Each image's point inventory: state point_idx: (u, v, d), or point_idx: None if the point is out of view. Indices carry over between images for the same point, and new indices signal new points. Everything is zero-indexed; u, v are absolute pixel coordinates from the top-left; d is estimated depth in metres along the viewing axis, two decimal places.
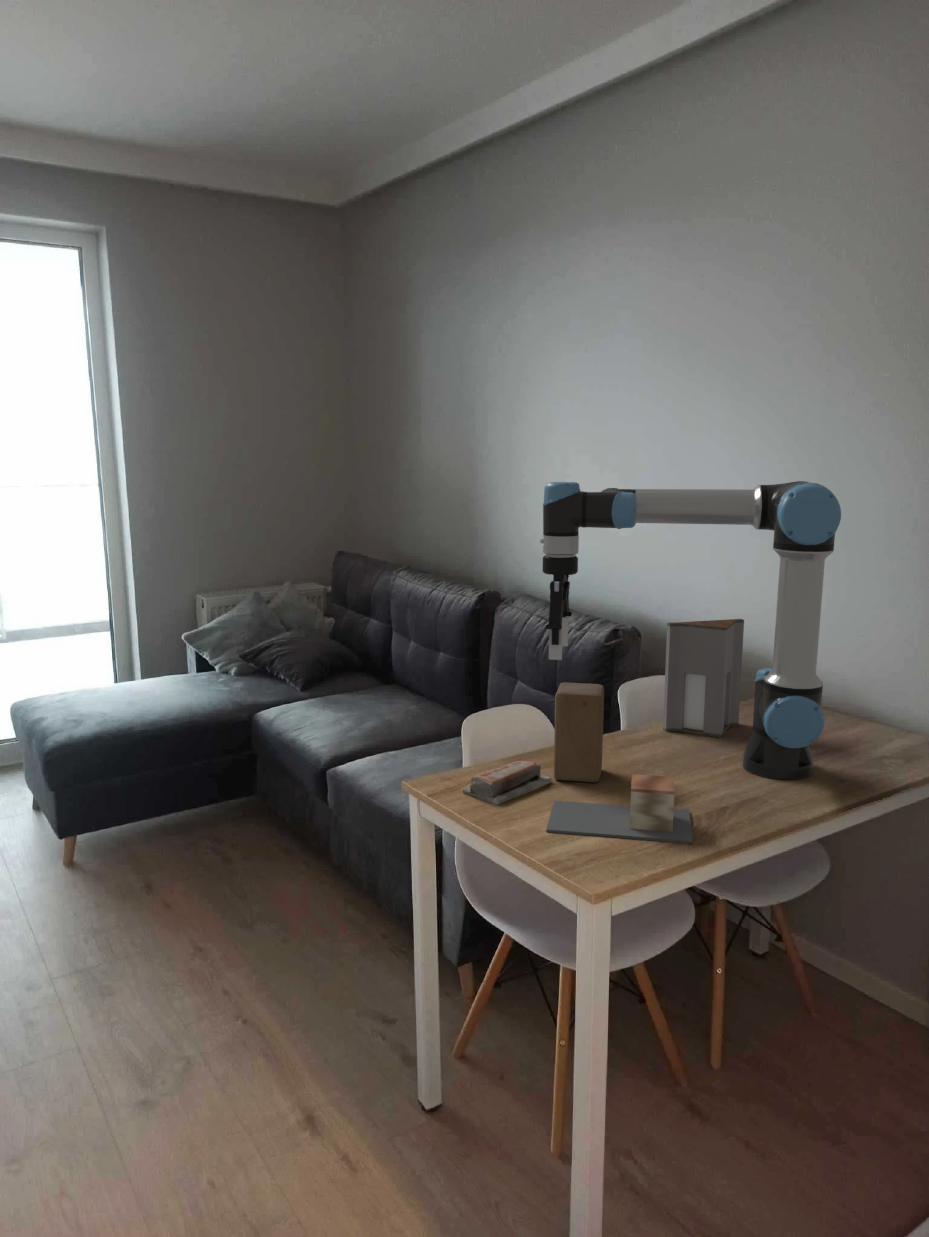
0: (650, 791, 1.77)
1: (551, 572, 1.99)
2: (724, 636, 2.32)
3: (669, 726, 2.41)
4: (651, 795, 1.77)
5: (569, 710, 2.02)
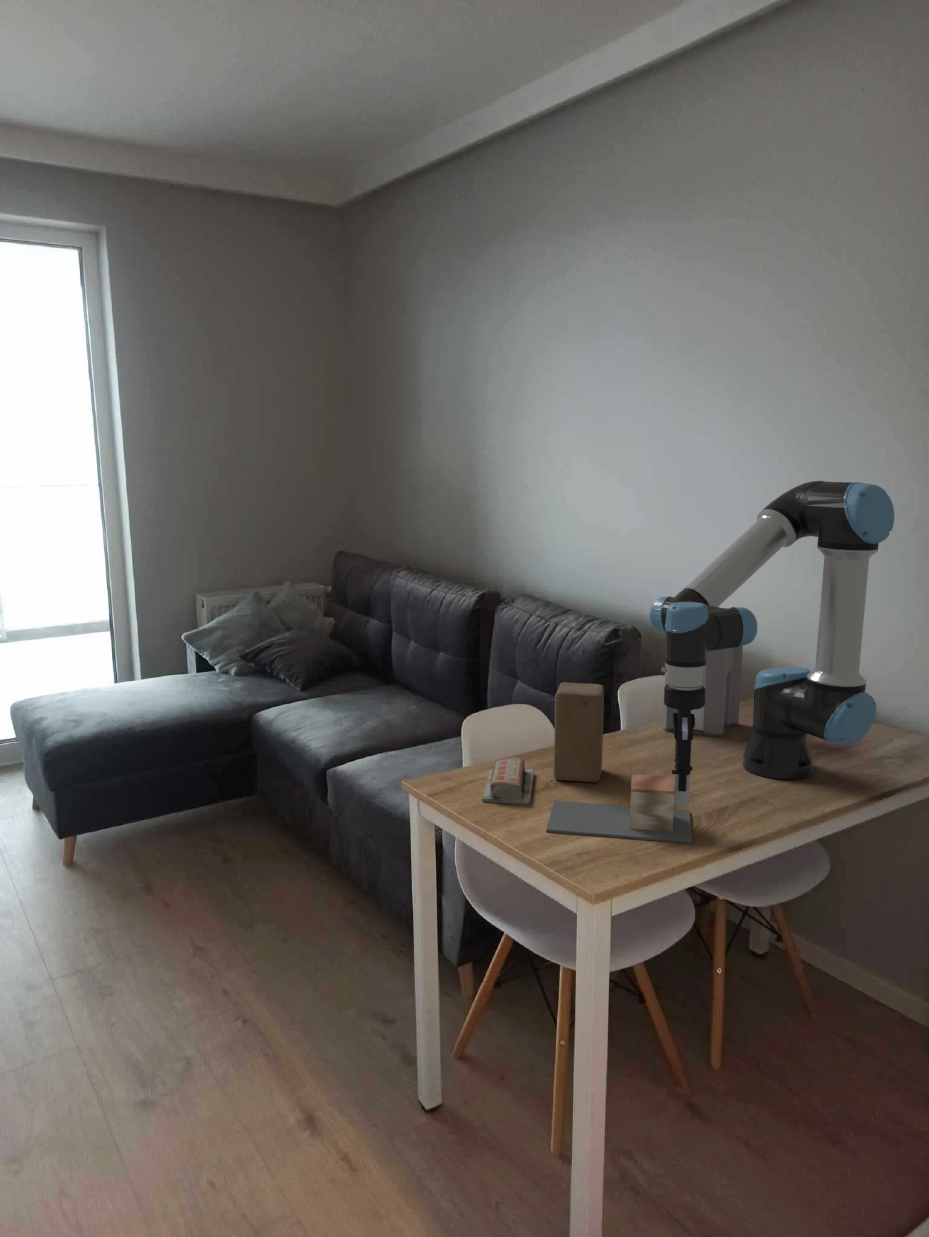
0: (650, 791, 1.77)
1: (676, 707, 1.74)
2: None
3: (669, 726, 2.41)
4: (651, 795, 1.77)
5: (569, 710, 2.02)
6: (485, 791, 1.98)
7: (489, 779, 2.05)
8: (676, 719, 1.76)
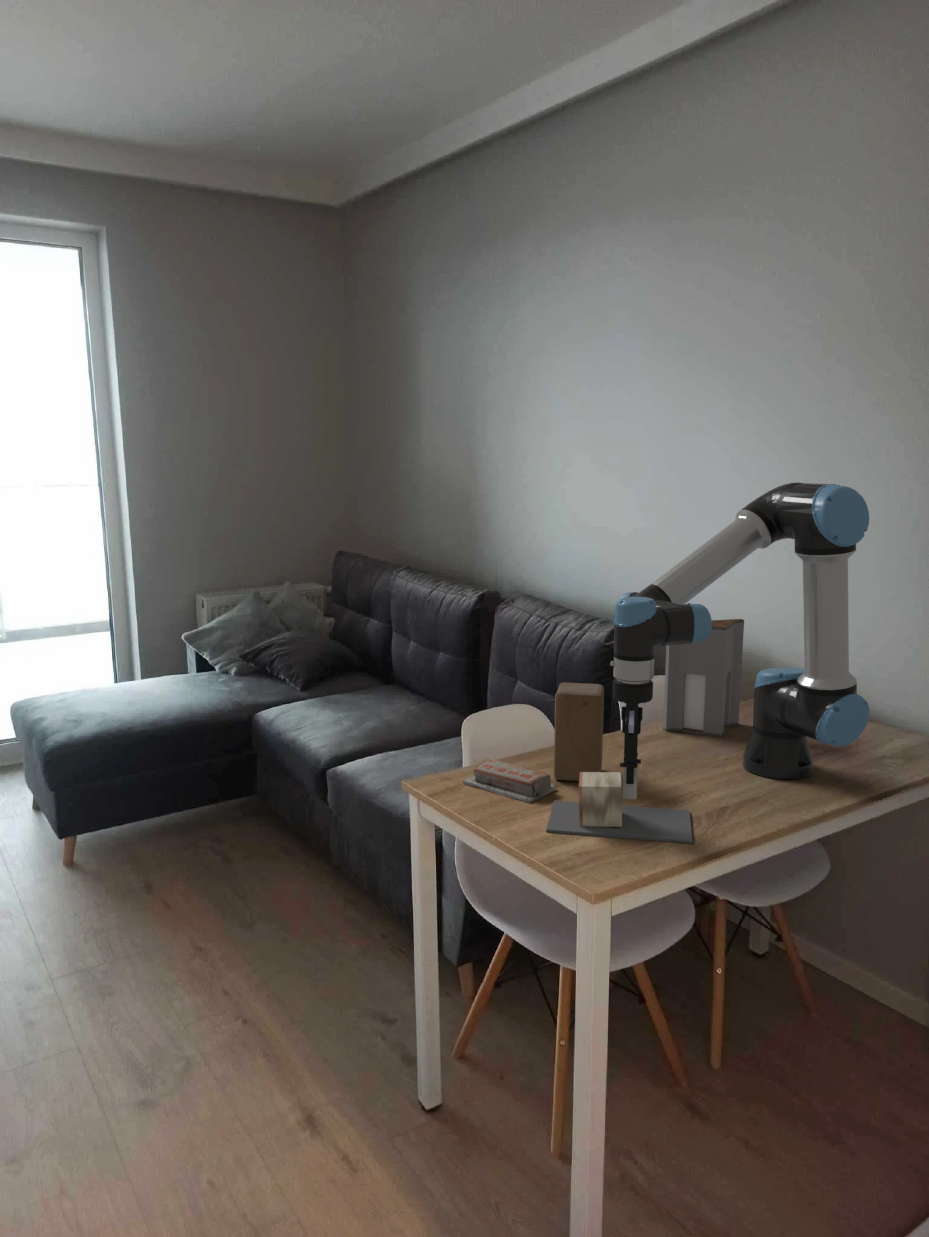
0: (580, 808, 1.80)
1: (624, 700, 1.76)
2: (724, 636, 2.32)
3: (669, 726, 2.41)
4: (585, 807, 1.80)
5: (569, 710, 2.02)
6: (514, 795, 1.96)
7: (487, 786, 2.01)
8: (624, 712, 1.78)
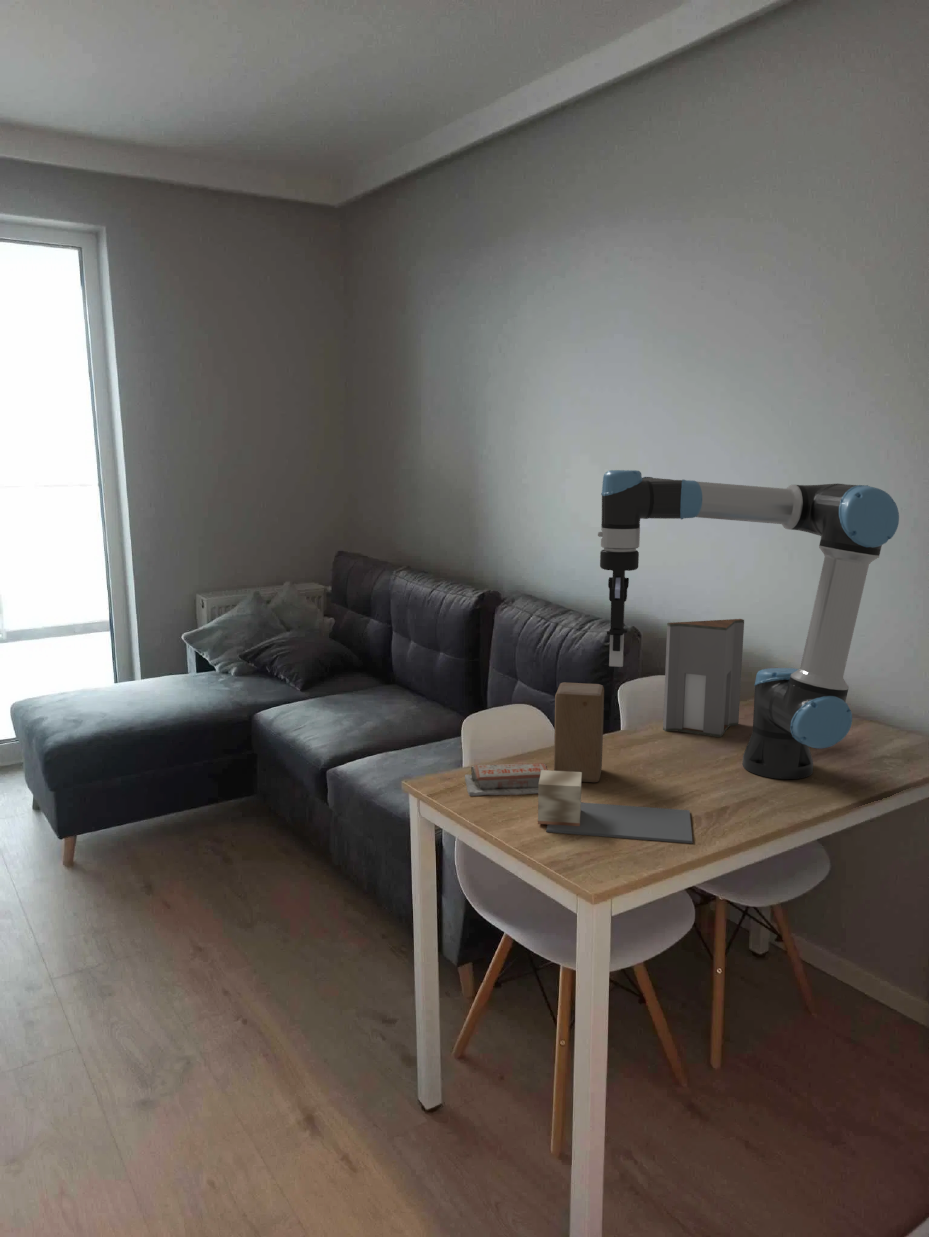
0: (560, 823, 1.81)
1: (610, 567, 1.84)
2: (724, 636, 2.32)
3: (669, 726, 2.41)
4: (559, 819, 1.81)
5: (569, 710, 2.02)
6: (533, 790, 1.99)
7: (499, 790, 1.98)
8: (611, 581, 1.86)
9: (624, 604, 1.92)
